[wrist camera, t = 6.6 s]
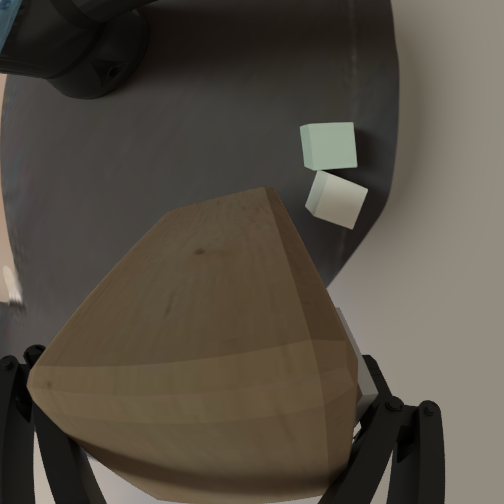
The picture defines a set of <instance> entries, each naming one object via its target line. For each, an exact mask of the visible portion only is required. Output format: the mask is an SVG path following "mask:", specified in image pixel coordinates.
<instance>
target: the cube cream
mask: <svg viewBox="0 0 504 504" xmlns="http://www.w3.org/2000/svg"><path fill="white" fill-rule="evenodd" d="M367 191H368V189H366V188H364V187H362V186H359V185H357V184H355V183H352V182H350V181H347V180H345V179H342V178H340V177H337V176H335V175H332V174H330V173H327V172H324V171H322V170H318V171H317V174H316V177H315V180H314V183H313V186H312V188H311V191H310V194H309V197H308V200H307V202H306V205H305V207H306V208H307V209H308V210H309V211H310V212H311V214H312V215H313V216H315V217H318V218H321V219H324V220H327V221H329V222H332V223H335V224H338V225H341V226H344V227H347V228H350V229H352V230H353V227H354V225H355V222H356V220H357V217H358V215H359V212H360V209H361V207H362V204H363V202H364V199H365V196H366V194H367Z"/></svg>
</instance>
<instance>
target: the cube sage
mask: <svg viewBox="0 0 504 504" xmlns="http://www.w3.org/2000/svg"><path fill="white" fill-rule="evenodd" d="M300 131H301V139H302V147H303V156H304V164H305V167H307V168H309V169H312V170H324V169H337V168H351V167H357V158H356V146H355V137H354V128H353V122H347V123H320V124H307V125H304V126H301V127H300Z"/></svg>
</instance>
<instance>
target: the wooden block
mask: <svg viewBox="0 0 504 504" xmlns="http://www.w3.org/2000/svg"><path fill="white" fill-rule="evenodd" d="M357 381H358V358H357V356H356V353H355V351H354V349H353V346H352V344H351V342H350V340H349V337H348V335H347V333H346V331H345V328H344V326H343V324H342V322H341V320H340V317H339V315H338V313H337V311H336V309H335V307H334V304H333V302H332V300H331V298H330V296H329V294H328V292H327V290H326V287H325V285H324V283H323V281H322V279H321V277H320V275H319V273H318V271H317V269H316V267H315V265H314V263H313V261H312V259H311V257H310V255H309V253H308V251H307V249H306V247H305V245H304V243H303V241H302V239H301V237H300V235H299V233H298V231H297V229H296V227H295V225H294V224H293V222H292V220H291V218H290V216H289V214H288V212H287V210H286V208H285V206H284V205H283V203H282V201H281V199H280V197H279V195H278V194H277V193H276V191H275V190H274V188H270V187H259V188H255V189H251V190H246V191H242V192H238V193H234V194H230V195H226V196H222V197H218V198H214V199H210V200H206V201H203V202H199V203H195V204H191V205H188V206H184V207H181V208H177V209H173V210H170V211H169V212H168V213H167V214H166V215H164V216H163V217H162V218H161V219H160V220H159V221H158V222H157V223H156V224H155V225H154V226H153V227H152V228H151V229H150V230H149V231H148V232H147V233H146V234H145V235H144V236H143V237H142V238H141V239H140V240H139V241H138V242H137V243H136V244H135V245H134V246H133V247H132V248H131V249H130V250H129V251H128V252H127V253H126V255H125V256H124V257H123V258H122V259H121V260H120V261H119V262H118V263H117V264H116V265H115V266H114V267H113V268H112V270H111V271H110V272H109V273H108V274H107V275H106V276H105V277H104V278H103V280H102V281H101V282H100V283H99V284H98V285H97V286H96V287H95V289H94V290H93V291H92V292H91V293H90V294H89V295H88V297H87V298H86V299H85V300H84V301H83V303H82V304H81V305H80V306H79V307H78V309H77V310H76V311H75V312H74V313H73V315H72V316H71V317H70V318H69V320H68V321H67V322H66V323H65V325H64V326H63V327H62V328H61V330H60V331H59V332H58V334H57V335H56V336H55V337H54V339H53V340H52V341H51V343H50V344H49V345H48V347H47V348H46V349H45V351H44V352H43V354H42V355H41V356H40V358H39V359H38V360H37V362H36V363H35V365H34V366H33V368H32V369H31V370H30V373H29V377H28V382H27V388H28V390H29V392H30V394H31V396H32V399H33V401H34V402H35V403H36V404H37V405H38V406H39V407H40V408H41V409H42V411H43V412H44V413H45V414H46V415H47V416H48V417H49V418H50V419H51V420H52V421H53V422H54V423H55V424H56V425H57V426H58V427H59V428H60V429H61V430H62V431H64V432H65V433H66V434H67V435H68V436H69V437H70V438H71V439H72V440H73V441H75V442H76V443H77V444H78V445H79V446H80V447H82V448H83V449H84V450H85V451H86V452H88V453H89V454H90V455H91V456H93V457H94V458H95V459H96V460H98V461H99V462H100V463H102V464H103V465H104V466H106V467H107V468H108V469H110V470H112V471H113V472H114V473H116V474H117V475H118V476H120V477H121V478H123V479H124V480H126V481H127V482H129V483H131V484H132V485H134V486H135V487H137V488H138V489H140V490H142V491H144V492H145V493H147V494H149V495H150V496H152V497H154V498H156V499H157V500H163V501H171V502H179V503H191V504H263V503H275V502H283V501H291V500H298V499H304V498H310V497H316V496H320V495H324V493H325V492H326V490H327V488H328V487H329V486H330V485H331V484H332V483H333V482H334V481H335V480H336V479H337V478H338V477H339V476H340V475H341V473H342V472H343V471H344V470H345V469H346V468H347V466H348V463H349V460H350V456H351V449H352V440H353V432H354V423H355V412H356V398H357Z"/></svg>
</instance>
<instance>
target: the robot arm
mask: <svg viewBox="0 0 504 504" xmlns="http://www.w3.org/2000/svg"><path fill="white" fill-rule="evenodd" d="M155 1H158V0H0V73H3V74H13V75H22V76H29V77H35V78H42V79H46V80H47V81H48V82H49V83H50V84H51V85H52V86H54V87H55V88H56V89H57V90H58V91H59V92H60V93H62V94H64V95H66V96H68V97H71V98H77V99H93V98H97V97H100V96H103V95H105V94H107V93H109V92H111V91H112V90H114V89H115V88H117V87H118V86H119V85H121V84H122V83H123V82H124V81H125V80H126V79H127V78H128V77H129V76H130V75H131V74H132V73H133V71H134V70H135V69H136V67H137V66H138V64H139V63H140V61H141V59H142V57H143V55H144V53H145V50H146V47H147V44H148V38H149V29H148V24H147V21H146V19H145V17H144V16H143V15H142V14H141V13H140V12H139V11H138V10H137V9H136V8H138V7H141V6H144V5H146V4H149V3H152V2H155ZM335 309H336V311H337V313H338V315H339V317H340V320H341V322H342V324H343V326H344V328H345V331H346V333H347V335H348V337H349V340H350V342H351V344H352V346H353V349H354V351H355V353H356V356H357V358H358V381H357V398H356V412H355V423H354V428H355V427H356V425H357V424H358V423H359V421H360V424H361V427H362V428H361V429H360V430H359V431H358V433H357V434H356V435H355V436H354V438H353V439H355V440H354V442H353V444H352V449H351V456H350V460H349V463H348V466H347V468H346V469H345V470H344V471H343V472H342V473H341V475H340V476H339V477H338V478H337V479H336V480H335V481H334V482H333V483H332V484H331V485H330V486H329V487H328V488H327V490H326V492H325V493H324V495H323V496H322V498H321V499H320V501H319V502H318V504H370V502H371V500H372V498H373V496H374V494H375V492H376V489H377V487H378V485H379V483H380V481H381V478H382V476H383V474H384V471H385V469H386V466H387V463H388V461H389V458H390V456H391V453H392V450H393V456H392V466H391V475H390V483H389V490H388V497H387V503H386V504H444V501H445V500H444V499H445V454H444V440H443V439H444V438H443V427H442V418H441V411H440V408H439V406H438V405H437V404H436V403H435V402H432V401H430V400H426V401H423V402H421V404H420V405H419V406H418V407H417V406H409V405H404V403H403V402H402V401H401V399H399V398H398V397H396V396H392V394H391V392H390V389H389V387H388V385H387V383H386V381H385V379H384V377H383V375H382V373H381V370H379V366H378V364H377V362H376V360H374V359H373V358H372V357H371V356H370V355H361V353H360V350H359V348H358V346H357V344H356V342H355V339H354V338H353V335H352V333H351V331H350V329H349V327H348V325H347V322H346V320H345V318H344V316H343V314H342V312H341V310H340V308H335ZM45 349H46V348H45V347H44V346H42V345H32V346H30V347H29V348H27V349H26V351H25V352H24V355H23V357H24V359H25V361H26V363H27V364H19V362H18V360H17V358H16V357H14V356H12V355H8V356H5V357H3V358H2V359H1V360H0V504H35V493H34V476H33V475H34V474H33V449H34V448H33V447H34V430H35V427H36V433H37V438H38V442H39V448H40V452H41V457H42V461H43V465H44V468H45V472H46V476H47V479H48V482H49V485H50V488H51V492H52V495H53V498H54V501H55V503H56V504H107V503H106V501H105V499H104V497H103V495H102V492H101V490H100V488H99V486H98V483H97V481H96V479H95V476H94V474H93V471H92V469H91V466H90V463H89V461H88V458H87V455H86V452H85V450H84V449H83V448H82V447H80V446H79V445H78V444H77V443H76V442H75V441H73V440H72V439H71V438H70V437H69V436H68V435H67V434H66V433H65V432H64V431H62V430H61V429H60V428H59V427H58V426H57V425H56V424H55V423H54V422H53V421H52V420H51V419H50V418H49V417H48V416H47V415H46V414H45V413H44V412H43V411H42V409H41V408H40V407H39V406H38V405H37V404H36V403H35V402H34V401H33V399H32V396H31V394H30V392H29V390H28V388H27V382H28V377H29V373H30V370H31V369H32V368H33V366H34V365H35V363H36V362H37V360H38V359H39V358H40V356H41V355H42V354H43V352H44V351H45Z"/></svg>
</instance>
